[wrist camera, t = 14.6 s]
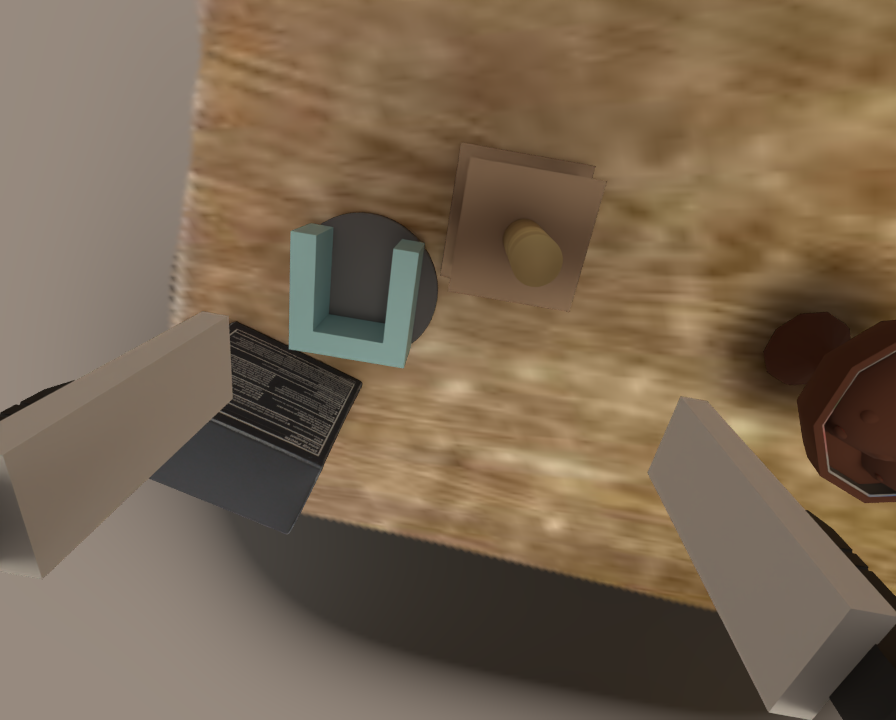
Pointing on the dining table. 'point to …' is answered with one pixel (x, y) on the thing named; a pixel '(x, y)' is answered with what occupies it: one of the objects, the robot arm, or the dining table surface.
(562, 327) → the dining table surface
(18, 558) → the robot arm
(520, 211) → the stand
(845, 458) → the ice cream bowl
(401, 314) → the c link
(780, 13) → the dining table surface
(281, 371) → the small box
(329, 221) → the coaster
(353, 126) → the dining table surface
